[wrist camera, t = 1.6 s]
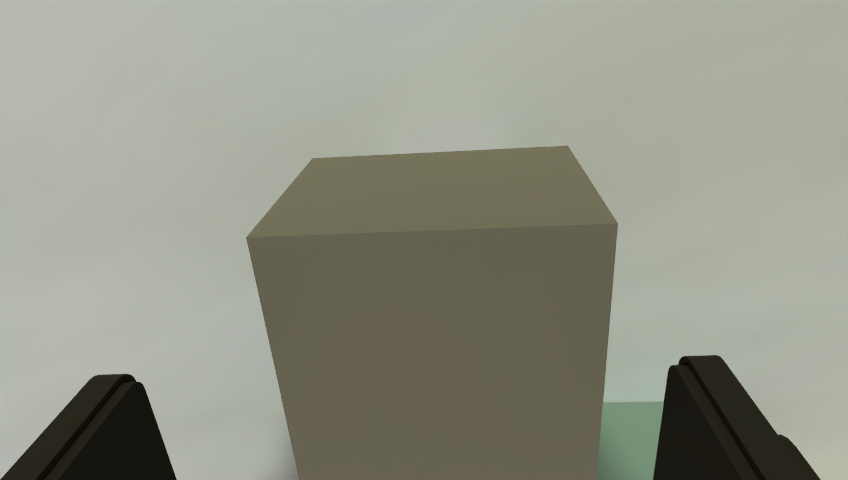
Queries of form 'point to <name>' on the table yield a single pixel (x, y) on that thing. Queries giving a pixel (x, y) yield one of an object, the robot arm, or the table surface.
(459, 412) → the plug
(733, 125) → the table surface
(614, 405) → the socket
